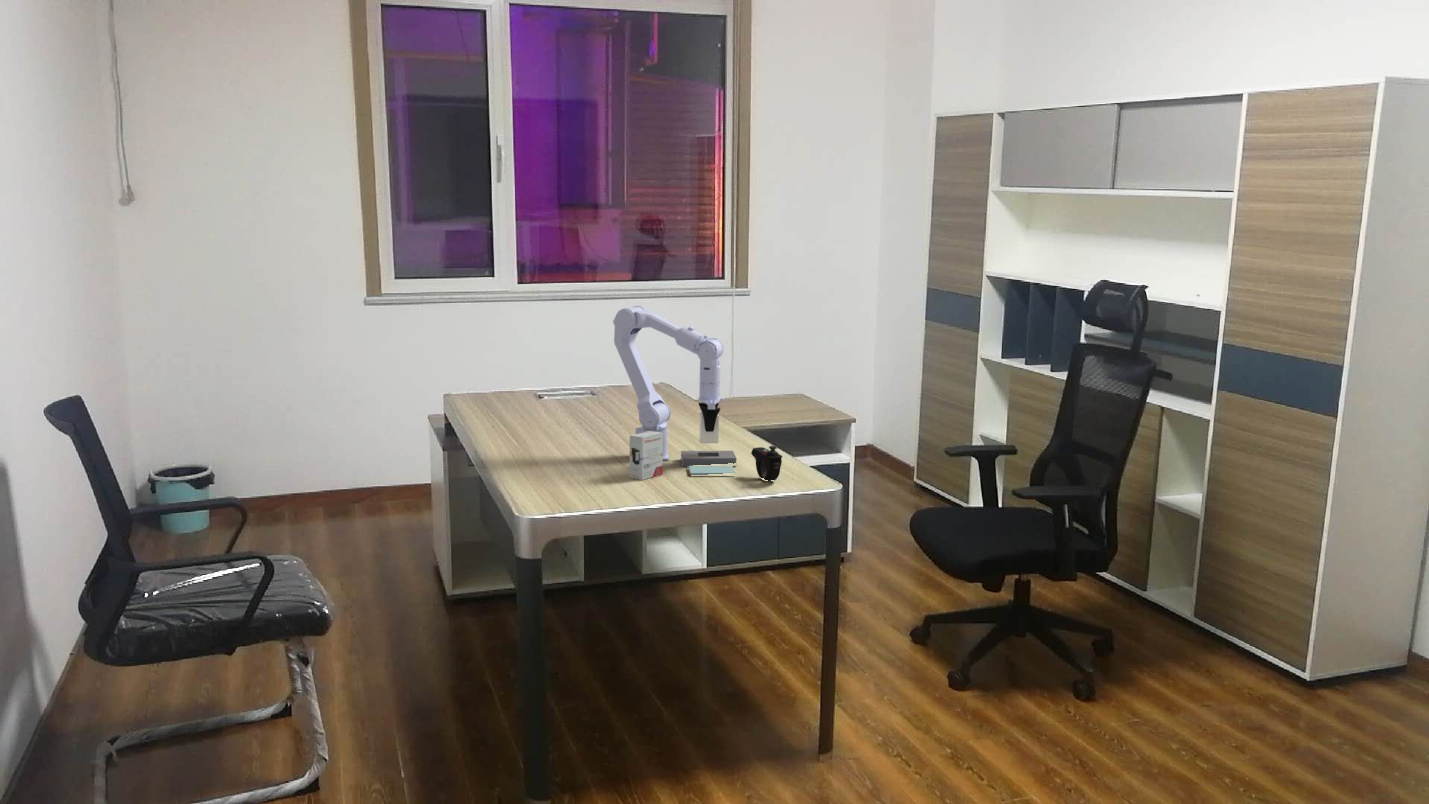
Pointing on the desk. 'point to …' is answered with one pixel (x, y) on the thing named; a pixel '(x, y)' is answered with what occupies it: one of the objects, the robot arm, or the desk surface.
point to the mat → (710, 470)
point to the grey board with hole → (707, 457)
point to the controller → (767, 462)
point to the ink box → (646, 455)
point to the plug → (708, 436)
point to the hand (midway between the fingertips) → (708, 429)
